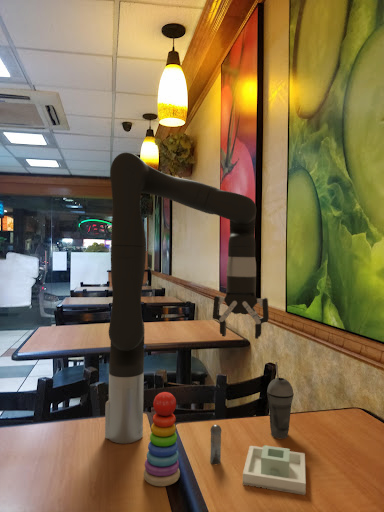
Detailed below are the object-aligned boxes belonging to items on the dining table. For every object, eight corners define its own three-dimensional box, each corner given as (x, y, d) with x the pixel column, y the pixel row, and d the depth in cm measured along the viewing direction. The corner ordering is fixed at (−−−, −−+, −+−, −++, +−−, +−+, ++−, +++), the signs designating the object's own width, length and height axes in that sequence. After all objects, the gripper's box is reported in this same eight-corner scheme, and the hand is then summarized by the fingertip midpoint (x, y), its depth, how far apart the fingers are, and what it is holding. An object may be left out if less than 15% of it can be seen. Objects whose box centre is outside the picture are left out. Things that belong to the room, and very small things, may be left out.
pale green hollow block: (263, 462, 94) (263, 445, 94) (289, 466, 92) (289, 448, 92) (260, 478, 87) (260, 460, 87) (288, 483, 85) (288, 464, 85)
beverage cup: (293, 442, 105) (295, 366, 105) (265, 439, 107) (267, 365, 106) (292, 430, 112) (293, 359, 112) (266, 427, 114) (267, 358, 114)
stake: (208, 463, 94) (209, 426, 94) (211, 458, 96) (211, 422, 96) (219, 465, 93) (220, 428, 93) (221, 459, 96) (222, 423, 96)
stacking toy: (165, 492, 82) (167, 402, 82) (136, 480, 86) (137, 394, 86) (186, 475, 89) (188, 391, 89) (158, 464, 93) (159, 384, 93)
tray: (242, 484, 86) (242, 473, 86) (249, 455, 98) (249, 445, 98) (305, 495, 82) (305, 483, 82) (304, 463, 95) (304, 453, 95)
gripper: (270, 274, 105) (269, 336, 105) (217, 273, 108) (216, 332, 109) (268, 276, 98) (266, 342, 98) (211, 274, 101) (210, 338, 101)
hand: (240, 337), depth 103 cm, fingers open, 8 cm apart
